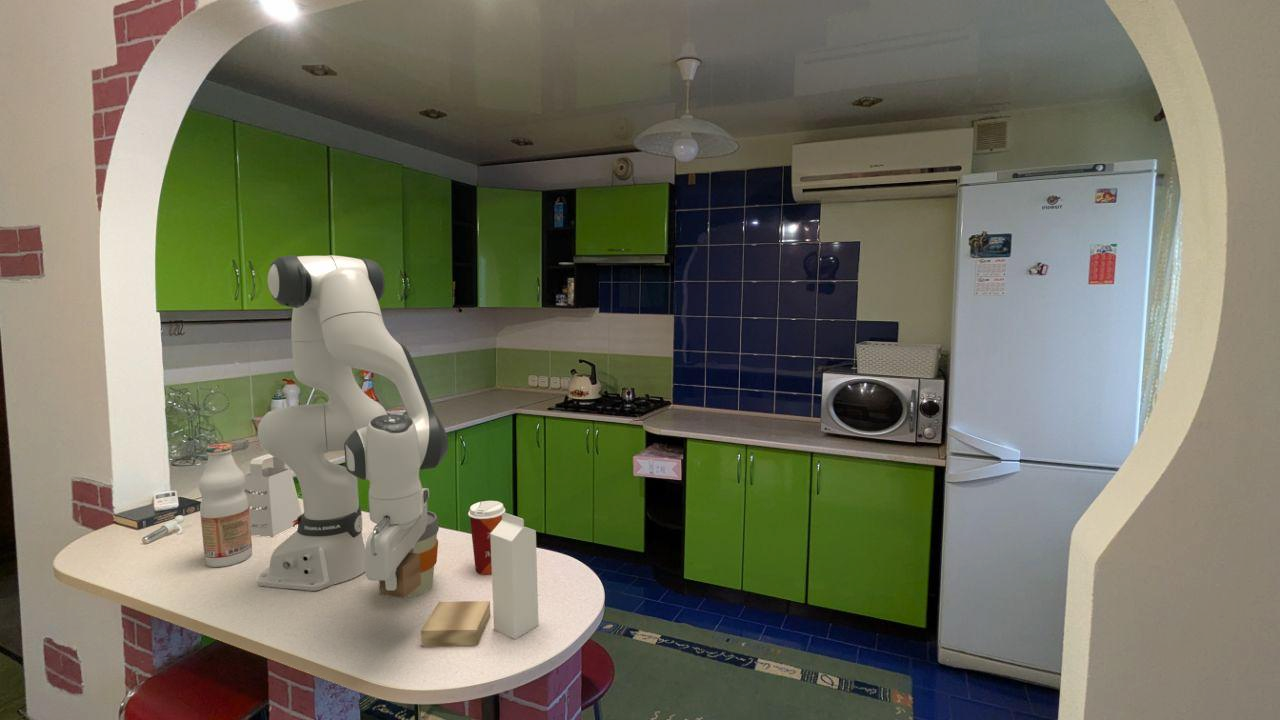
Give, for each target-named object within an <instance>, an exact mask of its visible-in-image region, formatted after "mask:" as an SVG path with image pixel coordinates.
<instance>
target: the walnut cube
mask: <svg viewBox="0 0 1280 720" xmlns="http://www.w3.org/2000/svg"><path fill="white" fill-rule="evenodd" d="M395 574H396V577H399V585H398V586H397V588H396V589H395V590H386V585H385V580H382V581H378V582H379V583H378V585H379V595H381V596H386V597H387V596H388V597H393V598H394V597H395V598H399V599H405V598H407V597H406V596H408V595H409V594H410V593H411V592H412V591H414V590H415V589H416V588H417V587H418V586H420V585H421V574H420V554H416V553H408V554H407V555H406V557H405V558H404V559H403V560H402V562H401V563H400V564H399V566H398V567H397V568H396V572H395Z"/></svg>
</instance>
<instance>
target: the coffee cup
mask: <svg viewBox="0 0 1280 720" xmlns="http://www.w3.org/2000/svg"><path fill="white" fill-rule="evenodd" d="M503 512H504V513H506V508H505V507H504V503H502V502H500V501H497V500H485V501H479V502H476V503H474V504H472V505H470V508H469V510H468V513H467V515H468V516H469V521H470V531H471V540H472V550H473V559H474V560H473V561H474V568H475V569H474V570H475V572H476V573H477V574H478V575H483V576H489V575H491V576H492V565H491V539H490V533H491V532H492V531H493V530H494V529H495V527H496V526H497V525H498V524H499V523H500V522H501V521H502V513H503Z"/></svg>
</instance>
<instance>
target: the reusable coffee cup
mask: <svg viewBox="0 0 1280 720" xmlns="http://www.w3.org/2000/svg"><path fill="white" fill-rule="evenodd" d="M439 530H440V528H439V520H438V516H437V514H436V513H435V512H433V511H430V510H427V525H426V530H425V532H424V533H423V535H422V536H421V537H420V538H419V540H418V541H417V542H416V544H415V550H414V553H416V554H420V574H421V585H420V586H418V587H417V588H416V589H415V590H414V591H412V592H411V593H410V594H409V595H408V596H406V597H405V598H411V597H415V596H419V595H421V594H424V593H426V592H428V591H429V590H430V589H431V588H432V587H433V585H434V573H435V566H436V564H437V562H438V547H439V540H438V538H437V537H438V532H439Z"/></svg>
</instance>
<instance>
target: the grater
mask: <svg viewBox="0 0 1280 720" xmlns="http://www.w3.org/2000/svg"><path fill="white" fill-rule="evenodd" d="M270 458H271V459H272V463H273V465H272V466H273V467H271V466H269V467H265V468H263V466H262V465H263V462H264V461H265V460H267V459H270ZM249 468H250V469H249V472H250V473H247V474H244V475H245V480H246V481H245V486H244V492H245V494H246V495H247V499H248V505H249V518H250V530H251V536H253V535H260V536H259V537H263V536H270V537H269V538H275V537H276V536H275V535H277V534H279V533H281V532H283V531H285V530H287V529H289V528H291V527H293V524H294V523H295V522H294V523H292V522H293V521H295V520H296V519H297V517H299V516H300V515H302V514H303V512H302V508H301V505H300V501H299V497H298V494H297V493H298V492H297V490H296V485H295V481H294V478H293V473H292V469H291V468H286V465H285V463H284V462H283V461H281V460H280V459H278V458H276V457H274V456H272V455H270V454H269V453H267V454H263V455H260V456H257V457H255V458H252V459H251V461H250V462H249ZM258 525H259V526H265V525H266V526H265V527H259V526H258ZM256 526H257V527H256ZM293 528H294V527H293ZM291 529H292V528H291ZM289 530H290V529H289ZM287 531H288V530H287ZM285 532H286V531H285ZM283 533H284V532H283ZM281 534H282V533H281ZM279 535H280V534H279ZM274 536H275V537H274ZM277 536H278V535H277Z"/></svg>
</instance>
